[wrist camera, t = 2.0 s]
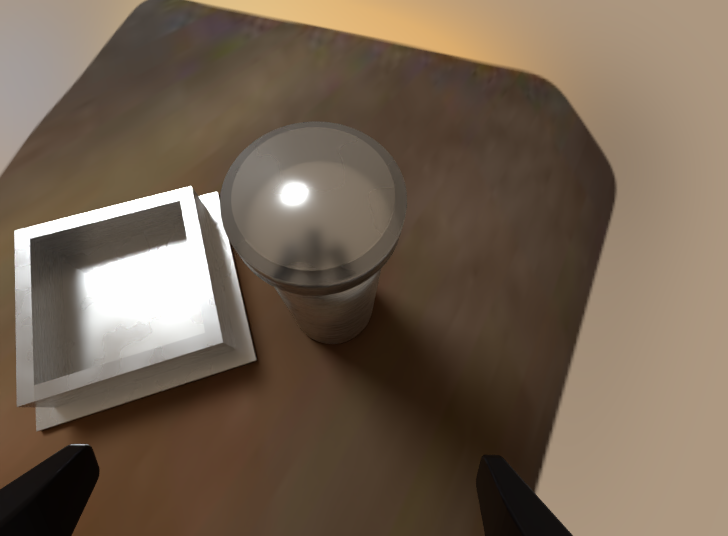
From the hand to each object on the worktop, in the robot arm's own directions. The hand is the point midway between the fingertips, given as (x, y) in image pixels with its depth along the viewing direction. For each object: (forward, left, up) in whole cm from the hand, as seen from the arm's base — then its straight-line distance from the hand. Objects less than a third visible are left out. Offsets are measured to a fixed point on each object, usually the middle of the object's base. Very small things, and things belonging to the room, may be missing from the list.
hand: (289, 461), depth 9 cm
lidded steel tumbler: (+4, -6, -13) cm, 15 cm away
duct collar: (+14, +1, -13) cm, 19 cm away
